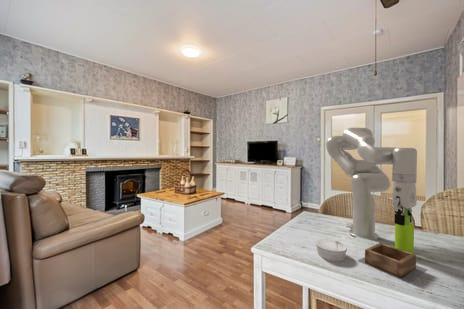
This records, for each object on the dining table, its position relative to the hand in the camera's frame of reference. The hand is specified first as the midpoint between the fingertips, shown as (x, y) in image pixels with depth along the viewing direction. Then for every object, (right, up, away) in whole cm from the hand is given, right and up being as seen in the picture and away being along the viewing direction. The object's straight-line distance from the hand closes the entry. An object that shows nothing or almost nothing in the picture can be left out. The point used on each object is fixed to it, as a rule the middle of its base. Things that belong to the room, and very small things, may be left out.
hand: (402, 222), depth 85 cm
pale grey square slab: (-11, -14, -8) cm, 19 cm away
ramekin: (-29, -14, 0) cm, 32 cm away
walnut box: (-11, -13, -8) cm, 19 cm away
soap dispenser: (0, -14, 0) cm, 14 cm away
